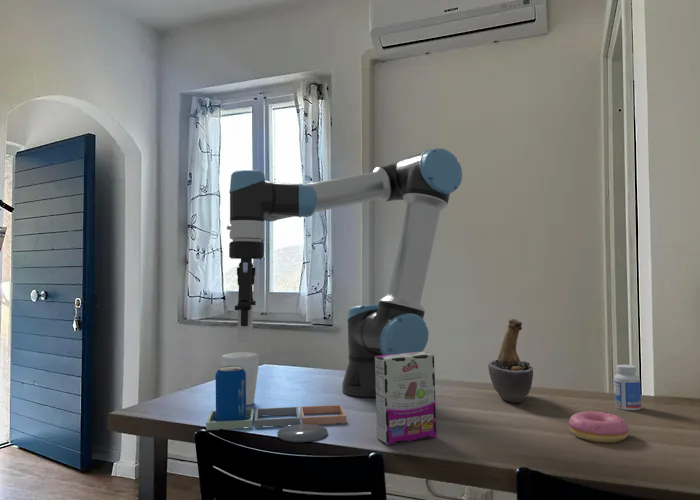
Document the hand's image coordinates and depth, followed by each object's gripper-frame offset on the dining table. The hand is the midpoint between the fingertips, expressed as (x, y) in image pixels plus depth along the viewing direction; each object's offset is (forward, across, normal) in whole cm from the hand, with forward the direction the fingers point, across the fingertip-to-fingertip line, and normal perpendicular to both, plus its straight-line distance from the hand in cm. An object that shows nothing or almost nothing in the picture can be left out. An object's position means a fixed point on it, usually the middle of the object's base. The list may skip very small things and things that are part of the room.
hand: (245, 337), depth 123 cm
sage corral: (+18, 0, -3) cm, 19 cm away
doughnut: (+18, +22, +69) cm, 75 cm away
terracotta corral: (+18, 0, +17) cm, 25 cm away
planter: (+17, -9, +65) cm, 68 cm away
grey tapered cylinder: (+19, -17, -2) cm, 26 cm away
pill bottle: (+17, +5, +88) cm, 90 cm away
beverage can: (+19, 0, -3) cm, 19 cm away
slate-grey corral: (+18, 0, +7) cm, 20 cm away
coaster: (+18, +11, +12) cm, 24 cm away
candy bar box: (+18, +17, +32) cm, 40 cm away
